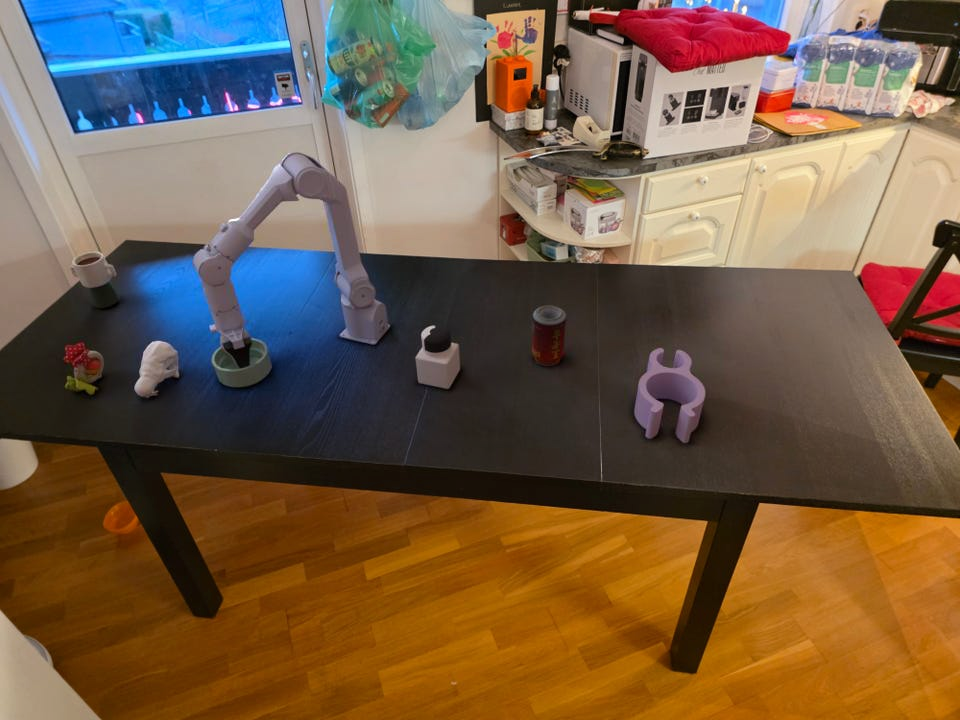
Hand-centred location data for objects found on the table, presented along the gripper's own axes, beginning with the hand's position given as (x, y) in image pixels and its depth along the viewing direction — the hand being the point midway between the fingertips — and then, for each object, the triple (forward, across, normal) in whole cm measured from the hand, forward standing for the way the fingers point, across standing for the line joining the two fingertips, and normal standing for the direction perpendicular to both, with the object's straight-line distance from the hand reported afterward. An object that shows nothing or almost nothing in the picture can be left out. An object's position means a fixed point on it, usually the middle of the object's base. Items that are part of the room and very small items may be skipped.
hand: (240, 357), depth 142 cm
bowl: (+4, 0, 0) cm, 4 cm away
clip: (+4, +55, +72) cm, 90 cm away
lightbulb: (+4, 0, 0) cm, 4 cm away
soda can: (+4, +29, +60) cm, 67 cm away
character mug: (+4, -46, -24) cm, 52 cm away
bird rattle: (+4, -13, -30) cm, 33 cm away
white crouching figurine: (+4, -5, -17) cm, 19 cm away
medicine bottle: (+4, +23, +36) cm, 43 cm away
